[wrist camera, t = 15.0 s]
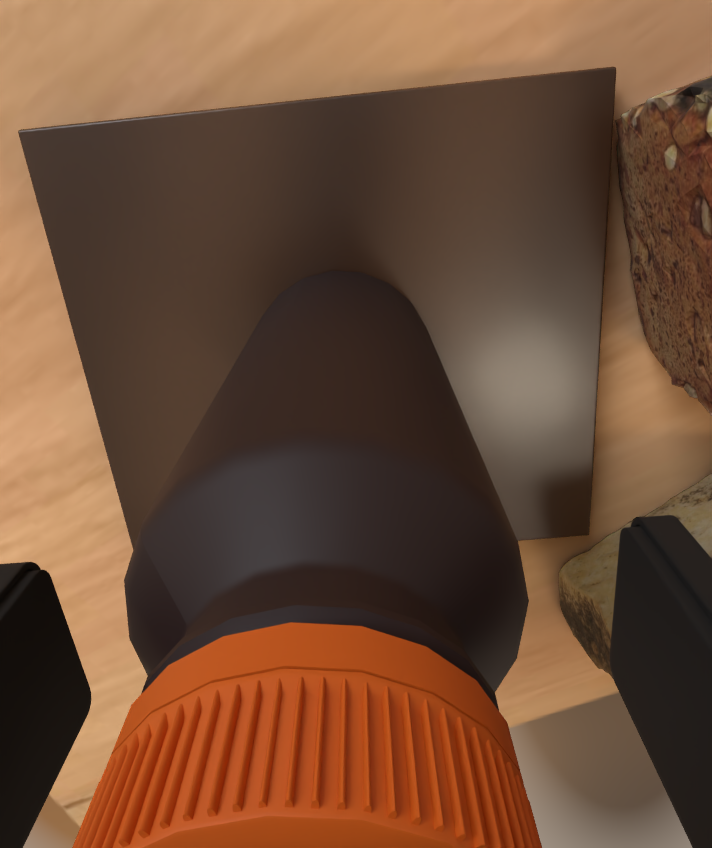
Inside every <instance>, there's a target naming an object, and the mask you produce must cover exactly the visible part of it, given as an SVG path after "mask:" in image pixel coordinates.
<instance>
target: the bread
mask: <svg viewBox="0 0 712 848" xmlns="http://www.w3.org/2000/svg"><path fill="white" fill-rule="evenodd" d="M615 122H616V128H617V133H618V142H617V157H618V168H619V182H620V190H621V194H622V197H623V201H624V220H625V226H626V231H627V236H628V240H629V246H630V252H631V268H630V271H631V273H632V276H633V282H634V287H635V293H636V298H637V304H638V309H639V314H640V318H641V322H642V326H643V330H644V333H645V336H646V339H647V341H648V344H649V347H650V349H651V351H652V352H653V354H654V355H655V356H656V358H657V359H658V361H659V362H660V363H661V365H662V366H663V367H664V368H665V370H666V371H667V372H668V374H669V375H670V376H671V378H672V385H675V386H679V387H683V388H684V389H685V391H686V392H687V393H688V395H689V396H690V397H693V398H698V400H699V401H700V403H701V404H702V405H703V406H704V407H705V408H706V409H707V411H708V412H709V413H710V414H711V415H712V76H710V77H707V78H704V79H701V80H699V81H696V82H694V83H691V84H689V85H687V86H684V87H681V88H677V89H673V90H669V91H666V92H663V93H661V94H659V95H656V96H654V97H652V98H650V99H647V101H646V103H644V104H641V105H639V106H636V107H633V108H632V109H631V110H629V111H627V112H626V113H624V114H622V115H621V118H620V119H618V120H616V121H615Z"/></svg>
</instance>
